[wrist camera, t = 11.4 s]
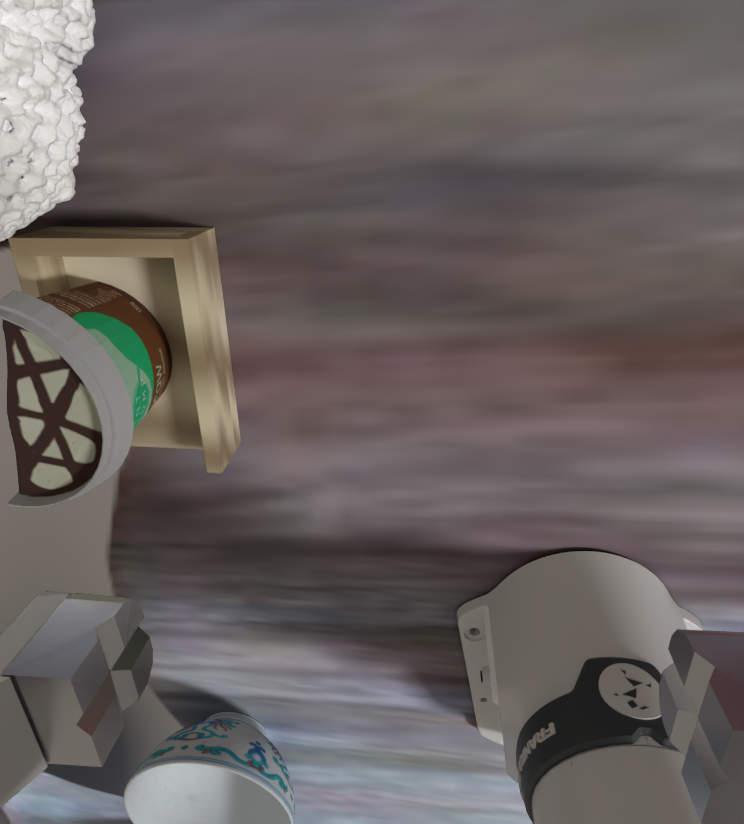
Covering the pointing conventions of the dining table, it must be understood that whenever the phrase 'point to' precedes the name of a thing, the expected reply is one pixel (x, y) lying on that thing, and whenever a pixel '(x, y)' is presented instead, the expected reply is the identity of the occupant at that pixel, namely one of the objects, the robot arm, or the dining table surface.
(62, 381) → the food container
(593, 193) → the dining table surface
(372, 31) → the dining table surface
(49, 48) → the white bumpy round lump
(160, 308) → the wooden tray
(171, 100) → the dining table surface
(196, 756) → the chinaware
